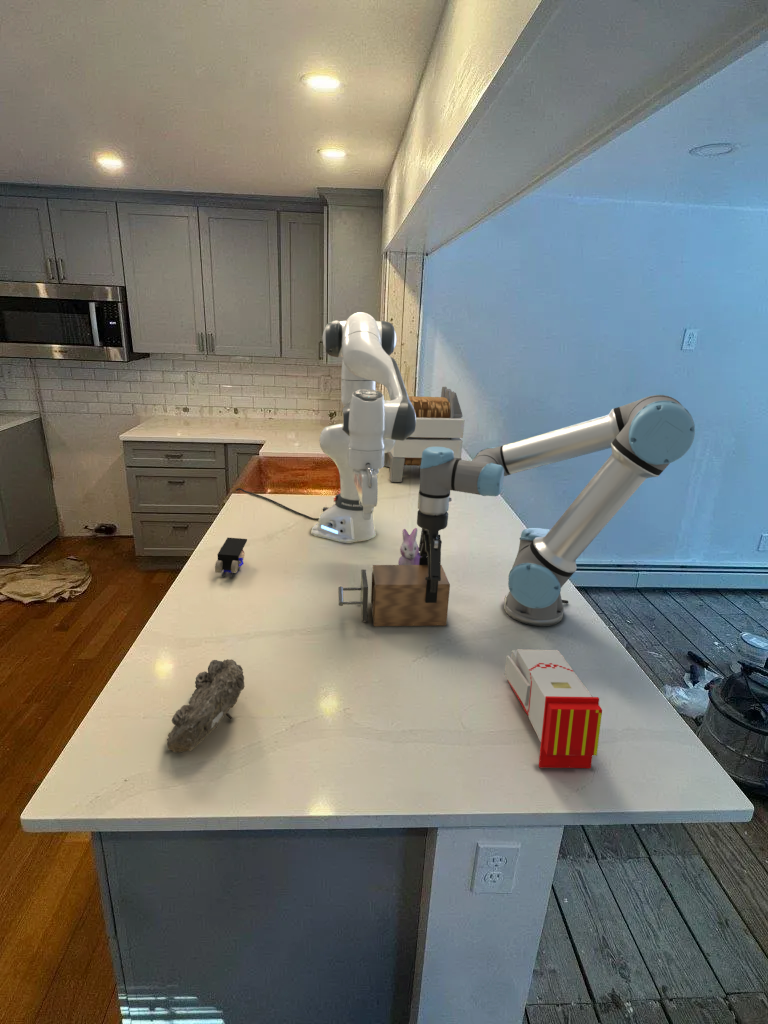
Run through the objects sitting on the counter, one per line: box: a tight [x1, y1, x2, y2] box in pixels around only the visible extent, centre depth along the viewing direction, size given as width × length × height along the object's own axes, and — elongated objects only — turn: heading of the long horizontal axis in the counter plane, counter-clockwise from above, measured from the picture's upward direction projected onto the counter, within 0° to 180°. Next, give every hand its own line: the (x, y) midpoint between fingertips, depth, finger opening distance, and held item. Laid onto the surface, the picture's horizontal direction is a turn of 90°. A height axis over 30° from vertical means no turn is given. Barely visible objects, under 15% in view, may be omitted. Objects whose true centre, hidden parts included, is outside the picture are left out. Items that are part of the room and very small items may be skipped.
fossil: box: [166, 658, 245, 754], centre depth 106 cm, size 22×10×15 cm
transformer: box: [384, 386, 465, 483], centre depth 268 cm, size 34×33×41 cm
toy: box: [504, 648, 603, 769], centre depth 111 cm, size 12×13×30 cm
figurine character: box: [214, 537, 248, 578], centre depth 166 cm, size 7×8×15 cm
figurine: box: [398, 527, 421, 565], centre depth 166 cm, size 9×10×15 cm
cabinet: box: [371, 564, 451, 627], centre depth 146 cm, size 18×11×12 cm, turn 95°
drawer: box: [337, 569, 375, 622], centre depth 145 cm, size 23×10×10 cm, turn 95°
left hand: (364, 512), depth 142 cm, fingers open, 8 cm apart
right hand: (426, 590), depth 146 cm, fingers closed on cabinet, 11 cm apart
